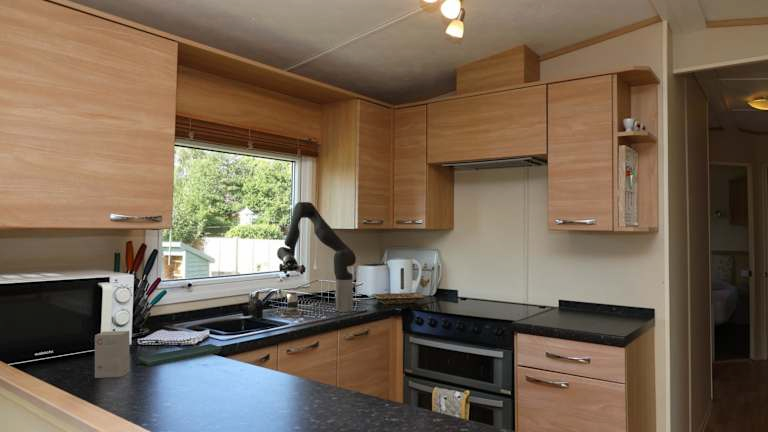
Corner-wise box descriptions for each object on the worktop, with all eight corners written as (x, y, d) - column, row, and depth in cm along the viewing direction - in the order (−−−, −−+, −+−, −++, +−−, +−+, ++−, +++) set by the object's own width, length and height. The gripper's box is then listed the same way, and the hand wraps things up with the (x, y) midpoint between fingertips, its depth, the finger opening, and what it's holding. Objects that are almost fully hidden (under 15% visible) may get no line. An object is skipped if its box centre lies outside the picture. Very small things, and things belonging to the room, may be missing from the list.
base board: (301, 313, 275) (301, 312, 275) (300, 317, 265) (300, 315, 265) (282, 314, 274) (282, 312, 274) (280, 317, 264) (280, 316, 264)
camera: (239, 316, 271) (239, 296, 271) (257, 314, 275) (257, 295, 275) (245, 321, 255) (245, 300, 255) (264, 319, 259) (264, 299, 259)
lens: (297, 311, 284) (297, 292, 284) (297, 313, 278) (297, 293, 279) (287, 311, 283) (287, 292, 283) (286, 313, 278) (286, 294, 278)
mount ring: (300, 312, 275) (300, 309, 275) (299, 315, 266) (299, 312, 266) (283, 313, 274) (283, 310, 274) (281, 315, 265) (281, 312, 265)
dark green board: (148, 368, 170) (148, 360, 170) (137, 363, 177) (137, 356, 177) (222, 354, 189) (222, 347, 189) (210, 350, 195) (210, 343, 195)
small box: (130, 371, 165) (130, 330, 165) (121, 377, 158) (122, 334, 159) (103, 372, 164) (103, 331, 164) (93, 378, 158) (94, 335, 158)
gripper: (278, 255, 298) (282, 265, 284) (302, 257, 303) (307, 266, 288) (276, 268, 300) (280, 278, 285) (301, 269, 305) (306, 279, 290)
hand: (294, 272), depth 287 cm, fingers open, 8 cm apart
